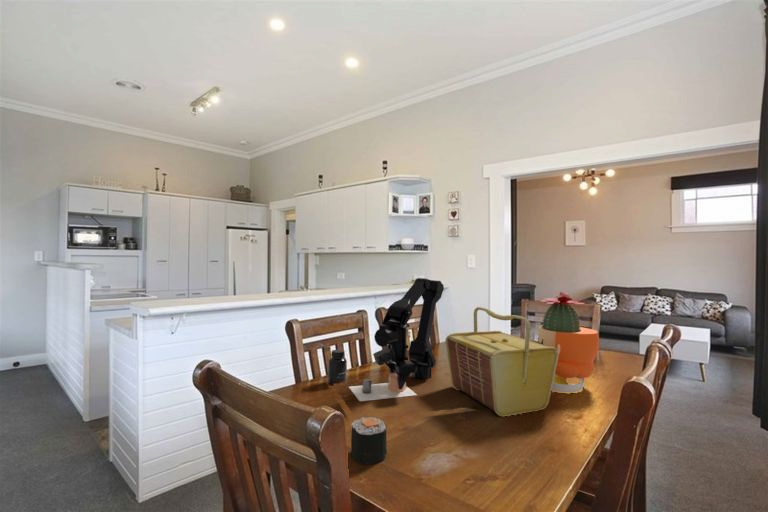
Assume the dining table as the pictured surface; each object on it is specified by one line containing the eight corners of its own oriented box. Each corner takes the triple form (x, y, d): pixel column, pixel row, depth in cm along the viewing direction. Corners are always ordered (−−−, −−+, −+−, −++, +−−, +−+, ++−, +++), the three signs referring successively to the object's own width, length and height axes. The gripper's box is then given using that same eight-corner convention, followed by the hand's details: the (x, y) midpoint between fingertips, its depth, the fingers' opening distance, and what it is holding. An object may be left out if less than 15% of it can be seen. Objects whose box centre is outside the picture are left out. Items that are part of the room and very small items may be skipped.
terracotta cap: (401, 385, 138) (401, 371, 138) (407, 391, 132) (408, 376, 132) (386, 387, 136) (387, 373, 136) (392, 392, 130) (392, 377, 130)
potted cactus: (532, 389, 142) (534, 294, 142) (538, 373, 162) (541, 290, 162) (599, 400, 132) (601, 298, 132) (597, 382, 152) (599, 293, 152)
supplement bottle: (342, 387, 139) (343, 353, 139) (325, 385, 140) (325, 352, 140) (348, 381, 146) (349, 349, 146) (331, 379, 147) (332, 348, 147)
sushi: (375, 443, 98) (376, 412, 98) (391, 459, 91) (392, 425, 91) (345, 450, 94) (346, 418, 94) (360, 467, 87) (361, 432, 87)
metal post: (369, 390, 132) (369, 378, 132) (372, 393, 129) (372, 381, 129) (361, 391, 131) (361, 379, 131) (363, 394, 128) (364, 382, 128)
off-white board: (401, 385, 142) (401, 381, 142) (417, 399, 129) (417, 394, 129) (348, 390, 135) (348, 386, 135) (359, 405, 122) (359, 401, 122)
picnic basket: (442, 389, 139) (444, 306, 139) (500, 382, 149) (502, 304, 149) (492, 423, 112) (494, 320, 112) (560, 412, 121) (563, 317, 121)
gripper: (367, 336, 140) (366, 379, 140) (385, 349, 123) (384, 398, 123) (396, 335, 144) (395, 377, 144) (417, 347, 126) (416, 394, 126)
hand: (397, 386), depth 134 cm, fingers closed on terracotta cap, 6 cm apart
